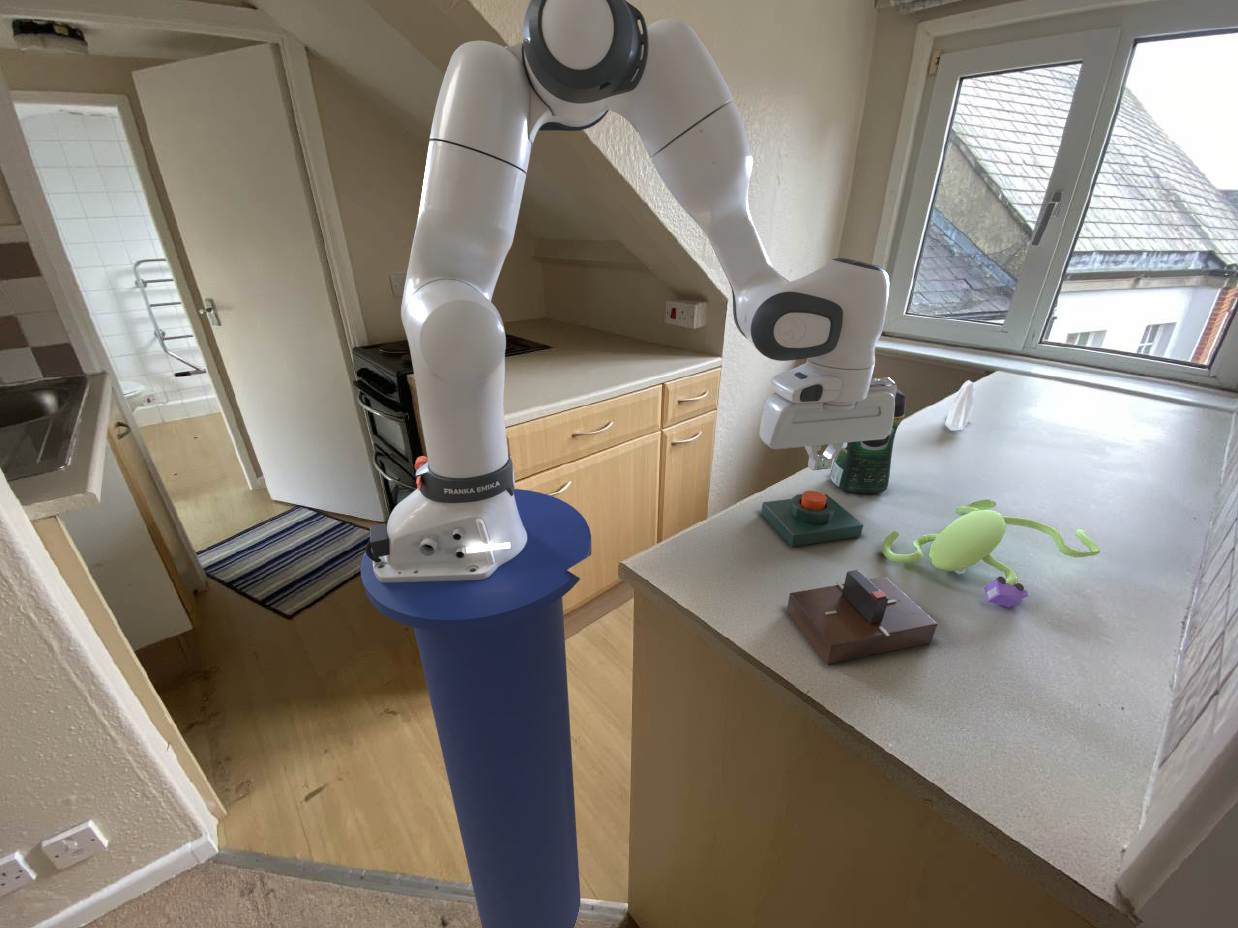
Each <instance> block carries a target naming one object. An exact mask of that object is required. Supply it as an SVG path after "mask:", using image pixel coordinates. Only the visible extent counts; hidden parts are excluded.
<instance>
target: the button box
mask: <svg viewBox="0 0 1238 928" xmlns="http://www.w3.org/2000/svg"><path fill="white" fill-rule="evenodd" d="M823 494H824V495H825V496H826V503H825V508H824V509H823V510H818V511H816V510H809V509H807V508H805V507H803V506H802V505H801V500H802V495H803V493H798V494H796V495H794V496H792V497H791V498H785V499H779V500H771V501H763V502H762V505H761V511H760V512H761V513H760V514H761V515H762V516H763V517H764V518H765V520H767V521H768V522H769V524H770V525H771V526H772V528H774V529H775V531H777V533H778V534H779V535H780V536H781V537H782V538H783V539H784V540H785V541H786V542H787V543H788V544H789V545H790V547H791V548H793V547H800V546H807V545H814V544H822V543H827V542H834V541H840V540H846V539H852V538H853V539H854V538H859V537H861V536H862V533H863V529H864V524H863V523H862V522H861V521H859V520H858V519H857V518H856V517H855V516H853V515H852V514H851V513H850V512H848V511H847V510H846V509H845V507H843V506H842V505H840V504H839V503H838V502H836V501H835V500H834V499H833V498H832V497H831V496H830V495H828V494H827V493H823Z"/></svg>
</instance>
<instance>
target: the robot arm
mask: <svg viewBox="0 0 1238 928" xmlns="http://www.w3.org/2000/svg"><path fill="white" fill-rule="evenodd" d="M638 21H640V25H641V29H640V25H639V22H638ZM609 111H611V112H613V113H615V114H617V115H620V116H621V117H623V118H624V119H625V120H626V121H628V123H629V124H630V125H631V126H632V128H633V129H634V130H635V132H636V133H638V135H639V137H640V139H641V141H642V144H643V146H644V148H645V150H646V152H647V154H648V156H649V158H650V159H651V163H652V164H653V166H654V168H655V170H656V172H657V173H658V175H659V177H660V178H661V180H662V182H663V183H664V185H665V186H666V188H667V189H668V191H669V193H670V194H671V195H672V197H673V198H674V199H675V200H676V202H677V203H678V204H679V206H680V207H681V208H682V209H683V210H684V212H685V213H687V215H688V216H689V217H690V218H691V219H692V220H693V221H694V222H695V223H696V225H698V227H699V228H700V229H701V231H702V232H703V233H704V235H705V236H706V238H707V240H708V241H709V243H710V245H711V247H712V249H713V252H714V254H715V256H716V258H717V260H718V262H719V264H720V266H721V268H722V270H723V273H724V275H725V276H726V279H727V280H728V283H729V285H730V288H731V294H732V315H733V320H734V324H735V327H736V328H737V330H738V332H739V333H740V334H741V335H742V336H743V337H744V338H746V339H747V340H748V341H749V343H750V344H751V345H752V346H753V347H754V348H755V349H756V351H758V353H760V354H761V355H763V356H764V357H766V358H768V359H770V360H773V361H778V362H787V361H788V362H790V361H797V360H798V361H799V360H804V359H806V362H805V363H803V364H800V365H799V366H796V367H794V368H792V369H790V370H787V371H785V372H781V373H779V374H776V375H775V376H773V377H772V379H771V380H770V389H771V390H772V391H773V392H774V393H772V394H771V395H770V396H768V398H767V400H766V402H765V404H764V406H763V411H762V416H761V420H760V426H759V438H760V439H761V441H762V442H763V443H764V444H765V445H766V446H767V447H769V449H771V450H784V449H785V450H786V449H794V448H804V449H805V450H806V453H807V455H808V462H807V466H808V468H809V469H810V470H811V471H820V470H829V469H832V466H833V462H834V459H835V457H836V455H837V454H838V453H839V452H840V451H841V449H842V447H843V443H847V442H857V441H867V440H878V439H885V438H886V437H887V436H888V435H889V434H890V432H891V430H892V425H893V419H894V410H895V396H896V392H897V389H898V386H897V384H896V382H895V381H894V380H892V379H891V378H890V377H880V378H873V373H874V369H875V364H876V354H875V353H876V346H877V343H878V342H879V341H878V340H879V339H880V337H881V335H882V333H883V330H884V325H885V320H886V315H887V309H888V303H889V296H890V278H889V275H888V273H887V272H886V270H885V269H884V268H882V267H881V266H879V265H876V264H872V263H868V262H864V261H860V260H855V259H851V258H845V257H836V258H832V259H830V260H829V261H828V262H827V263H826V264H825V265H823V266H821V267H819V268H818V269H817V270H815V271H813V272H811V273H809V274H807V275H804V276H802V277H800V278H797V279H794V280H792V281H789V280H788V279H786V278H785V277H784V276H783V275H781V274H780V273H779V272H778V271H777V270H776V269H775V268H774V266H773V265H772V263H771V261H770V259H769V256H768V254H767V252H766V249H765V247H764V245H763V243H762V240H761V238H760V235H759V234H758V231H757V229H756V226H755V224H754V221H753V219H752V216H751V211H750V207H749V186H750V181H751V176H752V172H753V164H754V161H753V154H752V150H751V145H750V141H749V138H748V133H747V131H746V127H745V124H744V121H743V118H742V116H741V114H740V111H739V108H738V106H737V104H736V102H735V100H734V97H733V94H732V92H731V90H730V88H729V86H728V84H727V83H726V81H725V79H724V77H723V75H722V73H721V71H720V69H719V67H718V66H717V64H716V62H715V60H714V59H713V57H712V55H711V54H710V52H709V51H708V49H707V47H706V46H705V45H704V43H703V41H702V40H701V38H700V37H699V35H698V34H697V33H696V31H695V30H694V28H693V27H692V26H691V25H690V24H689V23H688V22H686V21H685V20H683V19H681V18H678V17H677V18H676V17H667V18H662V19H659V20H656V21H654V22H652V23H650V24H648V25H647V23H646V19H645V17H644V15H643V13H642V12H641V11H640V10H639V9H638V8H637V7H636V6H634V5H632V4H631V3H630V2H628V1H627V0H530V1H529V2H528V6H527V8H526V11H525V15H524V20H523V25H522V41H520V42H518V43H516V44H515V45H511V46H510V45H509V46H507V45H505V46H502V45H500V44H498V43H495V42H492V41H488V40H471V41H470V40H469V41H467V42H465V43H462V44H461V45H459V46H458V47H457V48H456V49H455V50H454V52H453V53H452V55H451V57H450V59H449V63H448V64H447V68H446V70H445V73H444V76H443V79H442V82H441V86H440V89H439V93H438V97H437V101H436V104H435V109H434V113H433V119H432V122H431V123H432V124H431V129H430V133H429V134H430V135H429V142H428V148H427V155H426V162H425V168H424V175H423V182H422V187H421V188H422V190H421V196H420V203H419V210H418V215H417V221H416V226H415V231H414V235H413V240H412V245H411V250H410V255H409V259H408V260H409V261H408V266H407V272H406V276H405V283H404V288H403V293H402V301H401V306H400V318H401V324H402V325H403V329H404V332H405V335H406V339H407V343H408V347H409V351H410V357H411V364H412V370H413V375H414V381H415V388H416V394H417V396H416V397H417V401H418V411H419V418H420V423H421V427H422V434H423V439H424V445H425V450H426V455H425V456H424V455H421V456H418V457H416V460H415V464H414V469H415V482H416V489H415V490H414V491H412V492H411V493H410V494H409V495H407V496H406V497H405V498H403V499H402V500H401V501H399V502H398V503H397V504H396V506H394V508H393V509H392V511H391V513H390V515H389V517H388V520H387V523H386V522H383V523H379V524H375V525H374V524H373V525H370V526H369V539H368V542H367V544H366V546H365V551H364V553H365V552H366V554H367V556H368V557H369V558H370V559H371V560H373V570H374V574H375V576H376V578H377V579H378V580H379V581H380V582H385V583H389V582H426V581H461V580H483V579H486V578H487V577H489V576H490V575H491V574H492V573H493V572H494V571H495V570H496V569H497V568H498V567H499V566H500V565H502V564H504V563H505V562H507V561H509V560H511V559H512V558H514V557H515V556H516V555H518V554H519V553H520V552H521V551H522V549H523V548H524V547H525V545H526V542H527V532H526V530H525V528H524V526H523V524H522V521H521V519H520V516H519V512H518V509H517V505H516V502H515V497H514V491H515V489H516V480H515V479H516V478H515V469H514V464H513V461H512V460H513V459H512V456H511V454H510V452H509V449H508V440H507V439H508V438H507V429H506V420H505V419H506V418H505V408H504V399H505V398H504V397H505V378H506V349H507V338H506V337H507V336H506V330H505V326H504V322H503V319H502V316H501V314H500V312H499V310H498V309H497V307H496V306H495V305H494V304H493V302H492V299H493V296H494V292H495V288H496V285H497V282H498V279H499V276H500V273H501V271H502V269H503V265H504V264H505V263H504V262H505V260H506V257H507V255H508V253H509V251H510V249H511V248H512V245H513V243H514V238H515V233H516V229H517V224H518V218H519V214H520V209H521V203H522V198H523V194H524V188H525V185H526V184H525V183H526V178H527V174H528V169H529V163H530V157H531V153H532V149H533V145H534V141H535V138H536V136H537V133H538V131H542V132H545V131H546V132H549V131H550V132H551V131H553V132H556V131H560V132H561V131H563V132H579V131H584V130H587V129H590V128H592V127H594V126H596V125H597V124H598V123H599V122H601V121H602V120H603V119H604V118H605V117H606V115H608V113H609ZM826 445H827V447H826V448H825V450H824V451H823V453H822V454H818V452H820V451H821V450H822V449H821V448H822V446H826ZM371 548H372V551H373V553H372V551H371Z"/></svg>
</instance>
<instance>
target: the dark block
mask: <svg viewBox="0 0 1238 928" xmlns="http://www.w3.org/2000/svg"><path fill="white" fill-rule="evenodd" d="M843 584H844V587H843V591H842V595H843V596H844V597H845V598H846V599H847V600H848V601H849V602H850V603H851V604H852V605H853V606H854V607H855V608H856V609H857V610H858V611H859V612H860V613H861V615H862V616H863V617H864V618H865V619H866V620H867V621H868V622H869V623H870V624H873V623H878V622H882V620H883V617H884V613H885V610H886V606H887V603H888V597H887V595H885V594H884V593H883V592H882V591H880V590H879V589H878V588H877V587H876V586H875V585H874V584H873V583H872V582H871V581H870V580H869V578H867V576H865V574H864V573H863V572H861V571H860V569H854V570H849V571H846V575H845V578H844V583H843Z"/></svg>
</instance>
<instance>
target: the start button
mask: <svg viewBox="0 0 1238 928" xmlns="http://www.w3.org/2000/svg"><path fill="white" fill-rule="evenodd" d="M802 494H803V495H802V500H801V505H802V506H803V507H805V508H807V509H809V510H816V511H818V510H823V509H824V508H825V503H826V496H825V495H824V494H825V493H822V492H820V491H818V490H806V491H804V492H803V493H802Z"/></svg>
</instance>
